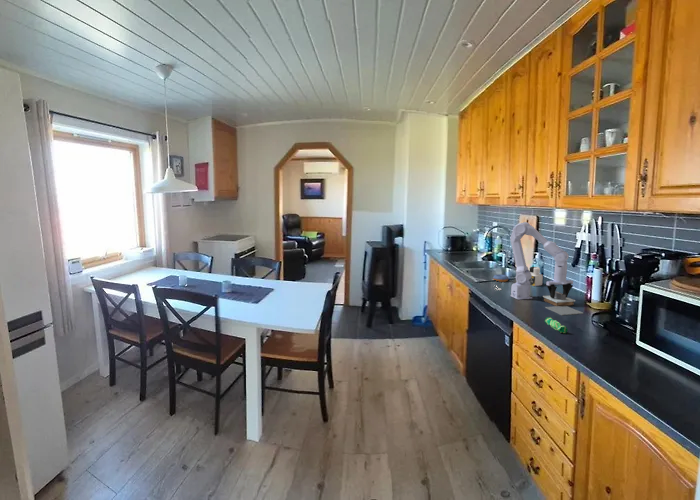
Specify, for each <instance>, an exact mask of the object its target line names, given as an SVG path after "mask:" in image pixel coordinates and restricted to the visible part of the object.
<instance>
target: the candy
mask: <svg viewBox="0 0 700 500" xmlns="http://www.w3.org/2000/svg"><path fill="white" fill-rule="evenodd" d="M544 323H545V324H546V325H548V326H550V327H551V328H552V329H554V330H555V331H558V332H559V334H561V333H563V334H566V333H567V332H568V327H567V326H566V325H562V324H561V323H560V322H559V321H557V320H556V319H555V320H554V319H553V318H552V316H548V317H545V320H544Z"/></svg>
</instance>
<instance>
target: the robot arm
mask: <svg viewBox="0 0 700 500" xmlns="http://www.w3.org/2000/svg"><path fill="white" fill-rule="evenodd" d="M511 232H512V233H511V234H510V237H509V240H510V245H511V248H512V252H513V257H514V261H515V266H516V270H515V273H516V274H515V283H512V284H511V287H510V291H511V292H510V297H512V298H514V299H516V300H519V301H520V300H532V299H533V297H532V296H530V295H531V294H530V291H531V285H530V281H529V280H530V279H531V277H532V275H531V273H530V272H529V271H530V269H529V267H528V266H527V262H526V259H525V254H524V250H523V245H522V240H521V239H522V238H524V236H531V237H533V238H534V239H535V240H537V241H538V242H539V243H540V244H542V245H543V250H544V251H546V252H547V253H548V254H549V255H550V256H552V258H554V259H553V260H554V261H555V262H554V263H555V264H554V273H553V280H549V281H548V280H547V281H546V282H545V284H546V287H547V289H548V293H549V295H550V297H551V298H554V297H555V291H557V286H559V285H561V286H562V294H565V295H566V297H568V296H569V293H570V291H571V290H572V289H573V287H574V286H573V284H574V280H572V279H567V273H568V272H567V271H568V260H569V253H568V252H567V251H566V250H564V249H563V248H561V247H560V246H558V245H557V243H556V242H555V241H552V240H548V239H547V238H545V237H544V236H543V235H542V234H541V232H539V231H538V230H537V229H536V228H535V227H534V226H532V225H531V224H530V223H529V222H526V221H523V222H519V223H517V224H516V225H514V226H513V228H512V231H511Z"/></svg>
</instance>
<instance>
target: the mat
mask: <svg viewBox="0 0 700 500" xmlns="http://www.w3.org/2000/svg"><path fill="white" fill-rule="evenodd" d="M545 309H546V310H549V311H551V312H554V313H556V314H558V315H560V316H572V315H584V312H582V311H579V310H578V309H574V308H572V307H571V306H554V305H553V306H545Z"/></svg>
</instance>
